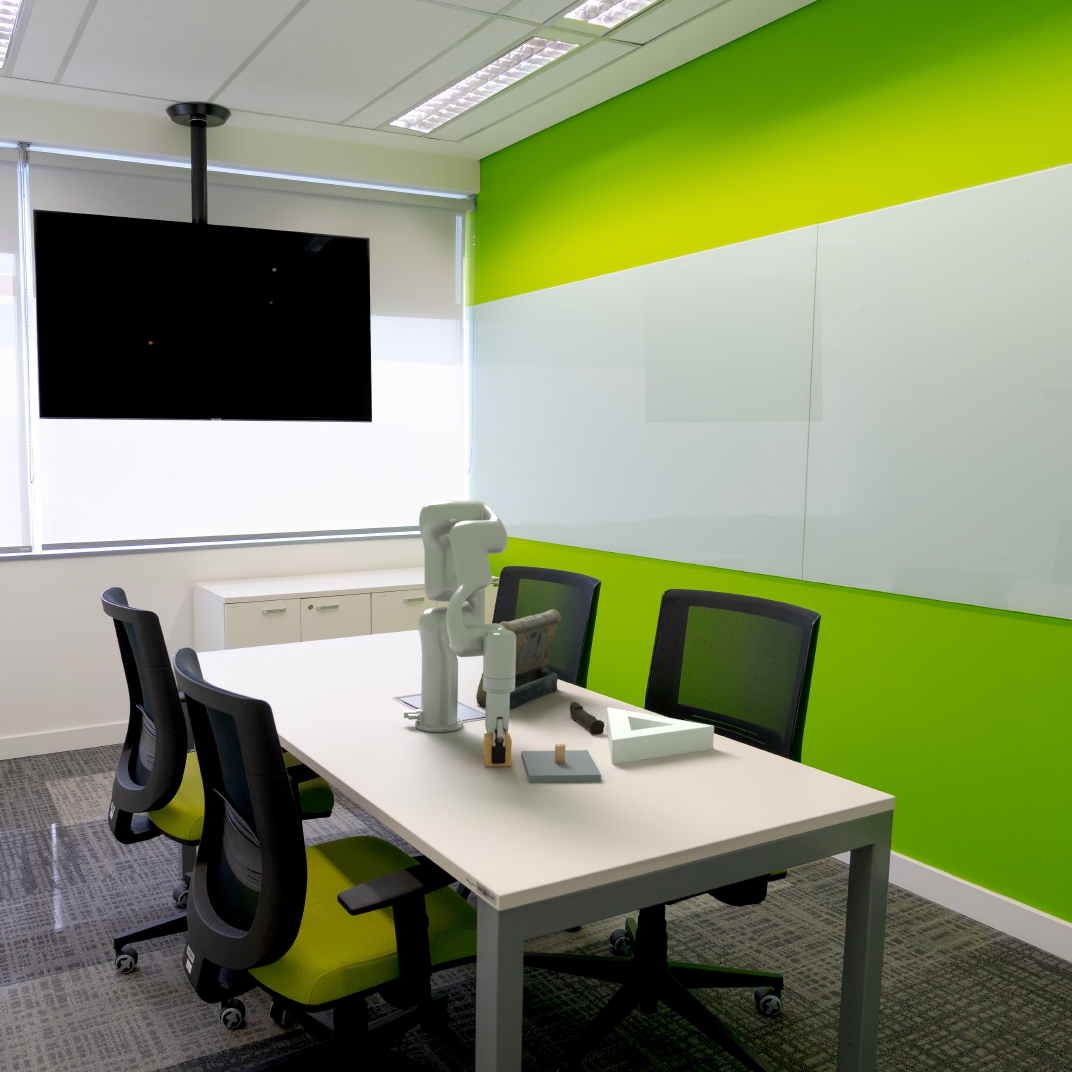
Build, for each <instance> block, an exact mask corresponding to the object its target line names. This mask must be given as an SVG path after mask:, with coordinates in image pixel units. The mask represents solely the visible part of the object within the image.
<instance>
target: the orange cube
mask: <svg viewBox="0 0 1072 1072" xmlns="http://www.w3.org/2000/svg"><path fill="white" fill-rule="evenodd" d="M496 738H497V736H495V739H496ZM512 741H513V740H512V738H511V734H510V733H509V732H508V733H507V734H505V746H506V754H505V763H504V764H492V762H491V753H492V746H493V733H490V735H489V734H487V732H486V733H483V763H484V766H485V767H512Z"/></svg>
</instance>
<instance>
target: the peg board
mask: <svg viewBox="0 0 1072 1072" xmlns="http://www.w3.org/2000/svg"><path fill="white" fill-rule="evenodd" d="M520 754H521V755H520V756H521V757H520V758H521V760H522V765H523V767H524V771H525V773H526V776H527V779H528V782H529V783H568V782H570V783H572V782H573V783H577V782H601V781H602V774H601V772H600V770H599V769H598V766H597V765H596V763H595V760H594V759H593V757H592V756H591V754H590V753H589V751H588V749H579V750H578V749H577V750H575V749H573V750H571V749H570V750H566V744H563V743H556V744H554V750H521V751H520Z"/></svg>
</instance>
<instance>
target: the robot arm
mask: <svg viewBox="0 0 1072 1072" xmlns="http://www.w3.org/2000/svg"><path fill="white" fill-rule="evenodd" d="M418 526H419V532H420V537H421V540H422V542H423V548H424V549H423V550H424V593H425V596H426V598H427V599H428V600H429V601H430V602H435V603H448V605H447V606H437V607H431V608H427V609H426V610H424V611H422V612H421V614H420V615H419V618H418V631H419V632H418V633H419V639H420V645H421V646H420V647H421V691H420V692H421V696H420V697H421V698H420V699H421V700H420V701H421V702H420V707H419V709H415V710H403V718H404V719H408V720H411V721H412V720H415V722H414V727H415V728H416V729H418V730H420V731H423V732H430V733H447V732H453V731H458V730H460V729H461V728H463V726H464V721H463V720H462V719H461V718H460V717H459V718H458V700H459V699H458V698H459V697H458V696H459V693H458V692H459V660H458V657H459V658H473V657H481V656H482V658H483V661H482V663H483V664H482V673H483V690H484V691H487V694H486V706H485V718H484V727H485V731H486V733H487V734H489V735H490V733H493V746H492V753H491V762H492V764H504V763H505V754H506V746H505V734H507V733H509V727H510V726H509V725H510V709H509V708H510V692H512V691H514V690H515V665H516V635H515V633H514V632H512V631H510V630H506V629H505V627H504V626H502V625H501V624H500V623H495V622H494V623H492V622H491V623H486V588H487V587H489V586H490V585H491V584H492V582H493V576H492V571H491V567H490V566H491V565H490V561H489V555H491V554H492V555H497V554H501V553H503V552H504V551H505V550H506V548H507V545H508V532H507V529H506V527H505V525H504V524H503V522H502V520H501V519H500V518H499V516H498V515H497V513H495V512H494V511H493V509H492V508H490V506H489V505H488V504H487V503H485V502H483V501H480V500H435V501H431V502H428V503H426V504H425V505H423V507H422V508H421V510H420V512H419V518H418ZM495 736H497V738H496V739H495Z"/></svg>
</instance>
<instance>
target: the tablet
mask: <svg viewBox="0 0 1072 1072" xmlns="http://www.w3.org/2000/svg"><path fill="white" fill-rule="evenodd" d="M561 622H562V616H561V614H560V613H559V612H558V610H556V609H549V610H547V611H545V612H541V613H538V614H537V613H536V614H534V615H533V614H532V615H528V616H524V617H521V618H518V619H514V620H511V621H501V622H499V624H501V625H502V626H504V627H505V629H506V630H510V631H512V632H514V633H515V635H516V665H515V690H514V691H512V692H510V708H509V710H510V709H513V708H515V707H518V706H521V705H523V704H526V703H528V702H531V701H534V700H536V699H538V698H541V697H543V696H545V695H548V694H550V693H553V692H555V691H557V690H558V679H559V677H558V673H556V672H554V671H551V670H550V669H549V668H548V663H549V660H550V657H551V651H550V646H551V645H552V643H553V641H554V637H555V632H556V630H557V629H558V627H559V625H560V623H561ZM486 694H487V691H484V690H483V672H482V673H481V677H480V680H479V684H478V686H477V691H476V694H475V695H476V696H475V697H476V703H477V704H478V705H479V706H481V707H486Z"/></svg>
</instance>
